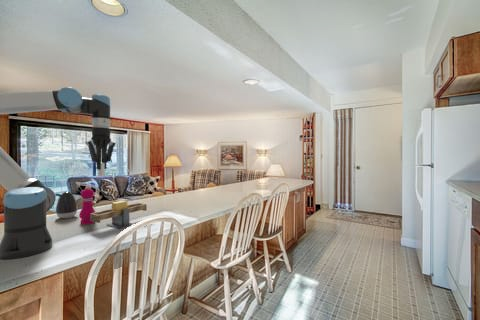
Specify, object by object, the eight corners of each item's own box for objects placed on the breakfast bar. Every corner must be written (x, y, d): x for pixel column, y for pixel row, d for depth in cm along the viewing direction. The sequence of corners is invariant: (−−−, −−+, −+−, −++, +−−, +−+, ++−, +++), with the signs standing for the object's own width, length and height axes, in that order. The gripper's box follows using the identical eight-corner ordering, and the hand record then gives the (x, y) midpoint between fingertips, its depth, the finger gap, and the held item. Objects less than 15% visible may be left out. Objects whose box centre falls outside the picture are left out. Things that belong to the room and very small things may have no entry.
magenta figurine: (82, 225, 115) (82, 187, 115) (77, 223, 120) (77, 186, 120) (97, 222, 121) (97, 185, 121) (92, 220, 126) (92, 184, 125)
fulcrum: (119, 229, 110) (119, 211, 110) (106, 225, 116) (106, 208, 116) (134, 224, 117) (134, 207, 117) (121, 221, 123) (121, 205, 123)
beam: (97, 222, 104) (97, 215, 104) (90, 220, 107) (90, 213, 107) (146, 210, 126) (146, 203, 126) (138, 208, 130) (138, 202, 130)
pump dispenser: (58, 216, 133) (58, 191, 133) (79, 214, 138) (79, 190, 137) (52, 220, 124) (52, 193, 124) (75, 218, 128) (75, 192, 128)
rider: (116, 212, 113) (116, 203, 113) (111, 211, 115) (111, 202, 115) (127, 209, 118) (127, 201, 118) (123, 208, 120) (122, 200, 120)
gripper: (90, 125, 100) (90, 177, 101) (118, 128, 112) (119, 175, 112) (82, 126, 104) (82, 176, 105) (110, 129, 115) (110, 175, 116)
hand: (101, 176), depth 108 cm, fingers closed
